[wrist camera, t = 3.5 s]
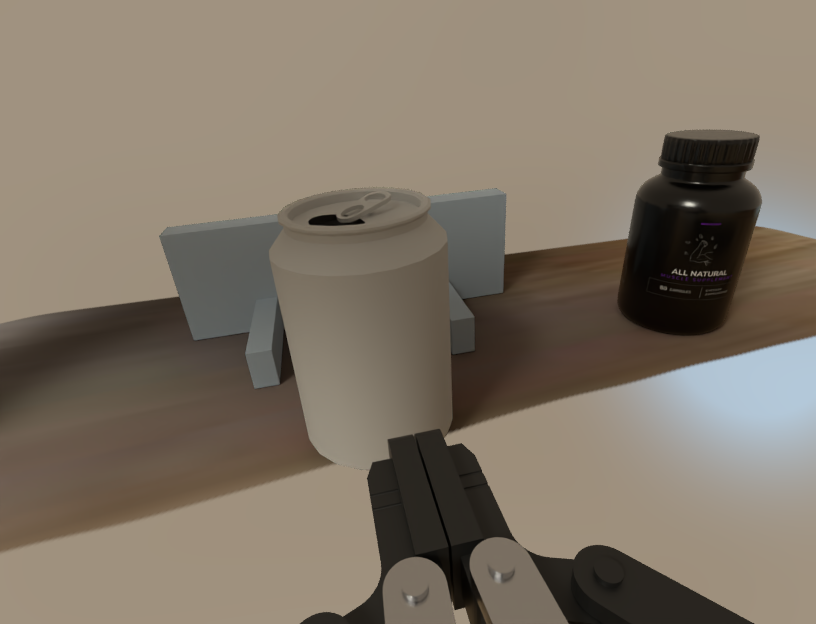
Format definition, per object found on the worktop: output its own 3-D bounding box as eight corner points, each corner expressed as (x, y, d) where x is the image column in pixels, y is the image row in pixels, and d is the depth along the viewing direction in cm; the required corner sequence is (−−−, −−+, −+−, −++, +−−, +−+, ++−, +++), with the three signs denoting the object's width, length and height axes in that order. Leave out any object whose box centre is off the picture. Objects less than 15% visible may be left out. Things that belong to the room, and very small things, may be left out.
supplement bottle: (678, 349, 29) (727, 147, 23) (595, 306, 34) (618, 135, 29) (749, 321, 31) (810, 131, 25) (661, 285, 36) (695, 123, 31)
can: (282, 430, 24) (226, 208, 19) (388, 369, 29) (367, 173, 23) (372, 513, 19) (331, 244, 14) (483, 423, 24) (486, 192, 18)
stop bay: (167, 403, 27) (119, 280, 23) (199, 327, 35) (167, 227, 32) (546, 338, 31) (555, 221, 27) (494, 283, 39) (496, 188, 35)
